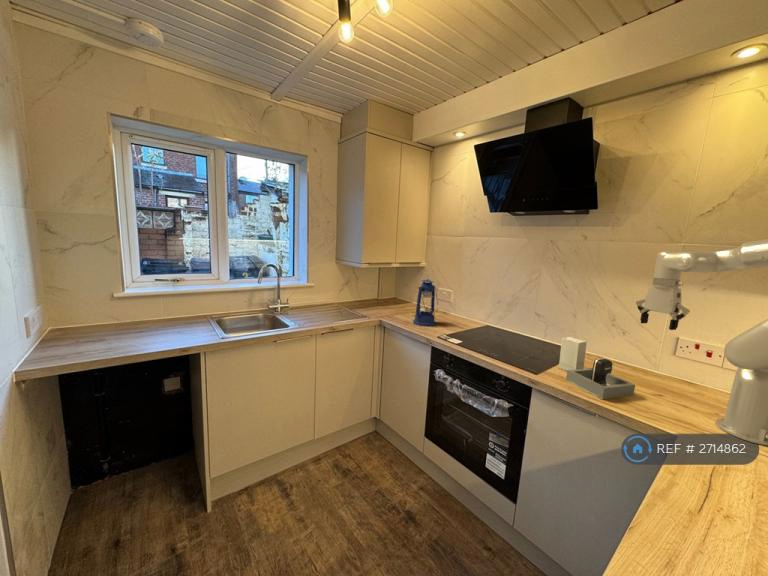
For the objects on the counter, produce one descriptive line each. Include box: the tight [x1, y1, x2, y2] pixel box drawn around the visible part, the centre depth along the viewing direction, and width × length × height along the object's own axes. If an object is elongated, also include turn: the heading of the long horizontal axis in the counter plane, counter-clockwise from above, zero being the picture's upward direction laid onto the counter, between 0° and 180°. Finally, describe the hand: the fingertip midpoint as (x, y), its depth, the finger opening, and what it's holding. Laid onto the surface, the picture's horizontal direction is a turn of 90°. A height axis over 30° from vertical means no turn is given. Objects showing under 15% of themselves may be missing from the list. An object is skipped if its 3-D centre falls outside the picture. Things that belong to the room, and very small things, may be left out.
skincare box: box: [558, 336, 588, 372], centre depth 139 cm, size 8×6×15 cm
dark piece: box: [591, 357, 613, 386], centre depth 123 cm, size 7×4×11 cm, turn 112°
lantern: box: [412, 279, 439, 328], centre depth 205 cm, size 17×15×30 cm
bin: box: [565, 367, 636, 400], centre depth 124 cm, size 16×16×4 cm
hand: (657, 326), depth 121 cm, fingers open, 9 cm apart
